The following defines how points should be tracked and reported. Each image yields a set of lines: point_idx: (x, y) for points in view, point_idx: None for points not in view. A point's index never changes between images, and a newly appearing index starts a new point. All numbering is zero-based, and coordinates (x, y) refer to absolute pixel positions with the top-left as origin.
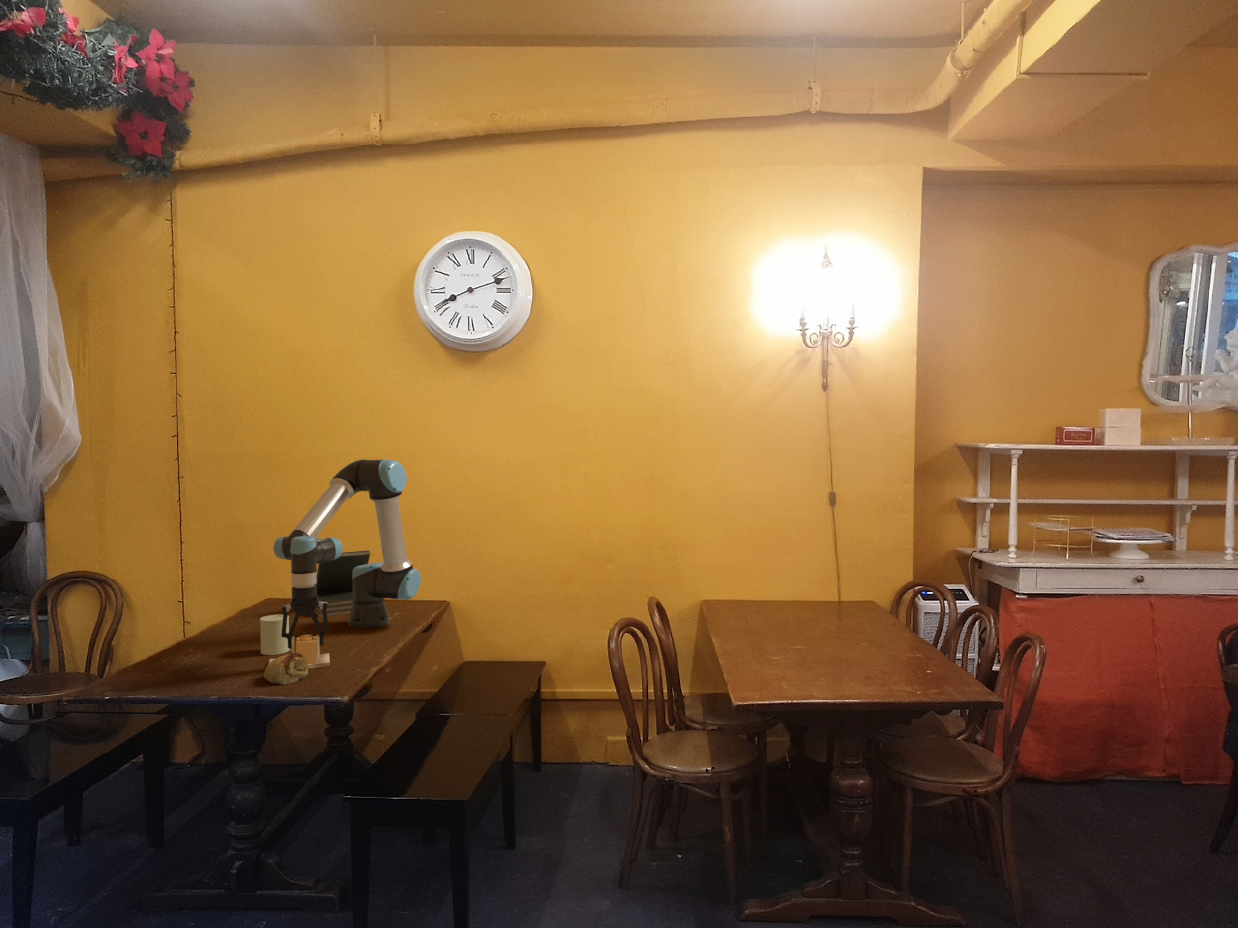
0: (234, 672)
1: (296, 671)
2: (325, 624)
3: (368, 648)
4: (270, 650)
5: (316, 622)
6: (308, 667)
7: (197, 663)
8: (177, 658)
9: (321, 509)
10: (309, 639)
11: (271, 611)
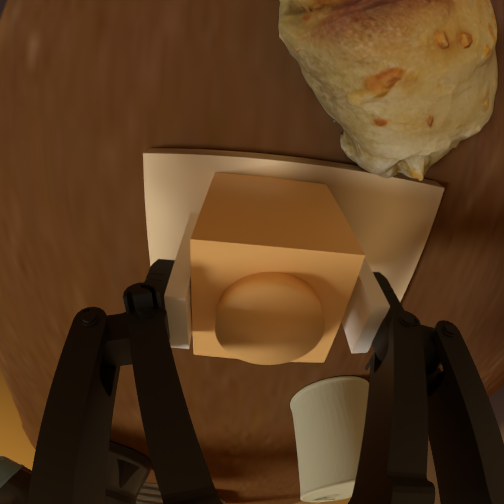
0: (498, 245)
1: None
2: (76, 378)
3: (45, 327)
4: (357, 388)
5: (163, 423)
6: (260, 154)
7: (496, 348)
8: (492, 379)
9: None
10: (251, 281)
11: (277, 500)
